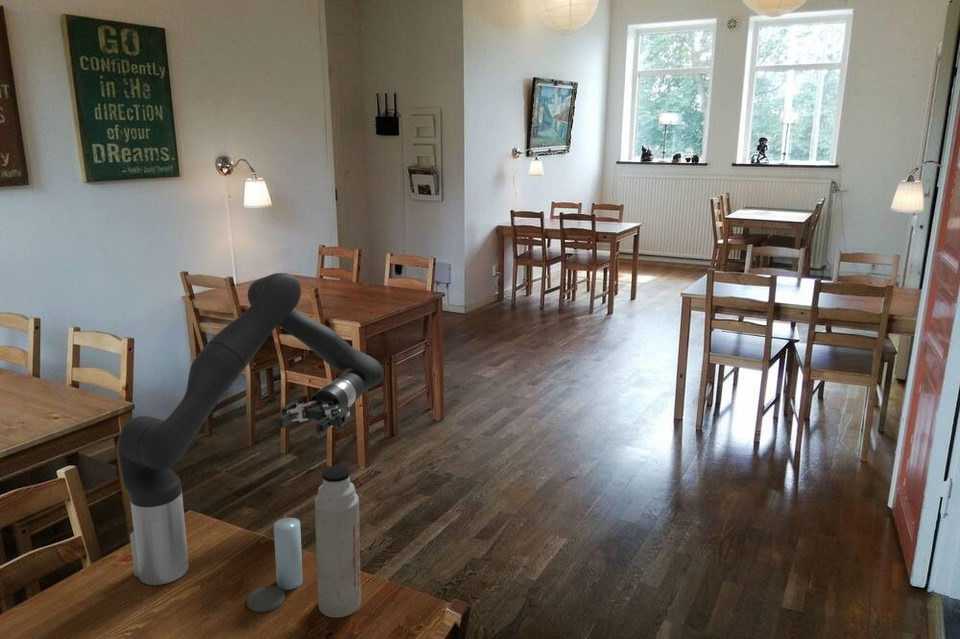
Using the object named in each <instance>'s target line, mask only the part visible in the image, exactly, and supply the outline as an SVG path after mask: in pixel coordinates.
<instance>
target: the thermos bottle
mask: <svg viewBox="0 0 960 639" xmlns="http://www.w3.org/2000/svg"><path fill="white" fill-rule="evenodd" d="M321 477H322V484H321V485H320V486H319V487H318V489H317V493H316V494H317V496H316V498H315V500H314V517H315V518H314V521H315V546H316V564H317V565H316V566H317V602H318V603H317V604H318V605H317V606H318V609H319V612H321V613H322V615H324V616H326V617H329V618H334V619H335V618H336V619H337V618H342V617H343V618H344V617H347V616H350V615H352V614H353V613H355V612H356V611H357V610H358V609H359V608H360V606H361V601H362V599H361V598H362V597H361V592H362V591H361V551H360V550H361V546H360V545H361V544H360V542H361V541H360V498H359V495H358V494H357V493H356V492H357V491H356V488H355V485H354V483H352V482H351V477H350V470H349V468H348V467H345V466H342V465H341V466H339V465H338V466H336V465H335V466H330V467H327V468H325V469H323V471H322V473H321Z"/></svg>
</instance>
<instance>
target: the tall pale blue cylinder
mask: <svg viewBox="0 0 960 639" xmlns="http://www.w3.org/2000/svg"><path fill="white" fill-rule="evenodd" d="M273 536H274V539H273V540H274V556H275V572H276V574H275V575H276V577H275V578H276V585H277V586H276V587H279V588H281V589H282V590H283V591H289V590H290V591H291V590H295V589H296V588H298V587H300V586H301V585H302V583H303V581H304V580H303V579H304V578H303V559H302V558H303V557H302V535H301V521H300V520H299V519H298V518H296V517H283V518H281V519H278V520H276V522H274V524H273Z"/></svg>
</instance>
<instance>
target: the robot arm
mask: <svg viewBox="0 0 960 639" xmlns="http://www.w3.org/2000/svg"><path fill="white" fill-rule="evenodd" d="M301 287H302V286H301V284H300V282H299V281H298V279H297V278H296V277H295V276H294V275H292V274H291V273H286V272H276V273H272V274H270V275H269V274H268V275H266V276H263V277H261V278H259V279H256V280H254V281H253V282H252V283H251V284H250V285H249V287H248V289H247V290H248V291H247V301H248V304H249V307H248V308H247V309H246V311H245V312H243V313H242V314H241V315H240V316H238V317H237V318H236V319H234V320H233V321H232V322H230V323H229V324H227V326H225V327H224V328H223V329H221V330H220V331H219V332H218V333H216V335H214V336H213V337H212V338H211V339H210V340H209V341H208V342H207V343H206V344H205V346H204V347H203V348H202V350H201V351H200V352H199V353H198V354H197V355H196V357H195V358H194V360H193V361H192V363H191V365H190V368H189V373H188V378H187V386H186V390H185V394H184V396H183V398H182V400H181V401H180V403H179V404H178V405H177V406H176V408H175V409H174V410H173V412H172V413H171V414H170V415H169V416H168V417H167V418H166V419H165V420H163V419H160V418H157V417H153V416H148V415H139V416H136V417H134V418H131V419H130V420H129V421H127V422H126V423H125V425H124V426H123V427H122V429H121V431H120V434H119V437H118V443H117V444H118V445H117V448H118V458H119V463H120V471H121V476H122V480H123V481H122V482H123V485H124V487H125V489H126V491H127V492H128V494H129V499H130V508H131V516H132V518H131V519H132V525H133V527H132V528H133V531H132V532H131V533H130V535H129V538H130V547H131V556H132V563H133V573H134V577H136V578H138V579H139V581H141V583H143V584H145V585H149V586H159V585H160V586H161V585H165V584H169V583H172V582H174V581H177V580H178V579H180V578H182V577H183V576H184V575H185V574H186V573H187V572H188V570H189V566H190V565H189V557H188V556H189V555H188V547H187V546H188V545H187V535H186V522H185V513H184V512H185V511H184V500H183V489H182V481H181V479H180V477H179V476H178V475H177V474H176V473H175V472H174V471H173V470H172V469H171V468H172V467H173V466H174V465H176V463H178V462H179V460H181V458H182V457H183V456H184V454H185V453H186V452H187V450H188V449H189V447H190V445H191V444H192V442H193V441H194V439H195V437H196V436H197V434H198V433H199V431H200V429H201V427H202V426H203V425H204V423H205V421H206V420H207V418H208V417H209V416H210V414H211V413H212V411H213V410H214V409H215V407H216V406H217V405H218V403H219V402H220V400H221V399H222V398H223V396H224V395H225V394H226V392H227V391H228V390H229V389H230V388H231V387H232V386H233V384H234V383H235V382H236V381H237V379H238V378H239V376H240V375H241V374H242V372H244V370H245V369H246V367H247V366H248V365H249V363H250V362H251V360H252V359H253V358H254V357H255V355H256V354H257V352H258V351H259V349H260V348H261V347H262V345H263V344H264V343H265V342H266V340H267V339H268V337H269V336H270V335H271V333H273V331H274V330H275V329H276V328H277V327H279V328H281V329H282V330H284V331H285V332H287V333H289V335H291V336H293V337H294V338H296V339H297V340H298V341H299V342H301V343H302V344H303V345H305V346H306V347H308V348H309V349H310V350H311V351H312V352H314V354H316V355H317V356H318V357H320V359H322V360H323V362H325V363H327V365H329V366H330V367H331V368H332V369H333V370H335V371H343V370H345V371H344V372H342V373H341V374H340V375H339V376H338V377H337V378H336V379H335V380H332V381H330V382H329V383H327V384H326V385H324V386H323V387H322V388H320V389H319V390H317V391H316V392H315V393H314V394H313V395H312V396H311V398H310V400H309V401H308V402H306V403H303V404H302V403H299V400H297V399H295V400H293V401H291V402H289V403H288V404H286V405H284V406H283V407H281V408H280V413H281V414H280V416H281V417H280V418H279V419H278V425H279V428H280V429H286V428H287V427H288V426H290V425H291V424H292V423H293V422H297V421H298V422H300V423H301V422H305V421H309V420H311V421H319V422H317V423H316V428H315V429H316V434H322V433H323V432H326V431H327V430H328V429H329V428H333V427H334V426H335V427H336V428H342V427H343V426H344V425H345V424H346V422H348V421H349V420H350V418H351V412H350V411H351V410H350V407H352V405H353V404H354V403H355V402H356V401H357V400H359V398H361V396H362V395H363V393H365V392H366V391H368V390H369V389H372V388H373V387H375V386H377V385H378V384H380V383H381V382H382V381H383V380H384V376H385V373H384V369H383V366H382V365H381V364H380V362H379V361H378V360H376V359H375V358H374V357H372V356H370V355H368V354H367V353H364V352H363V351H360V350H359V349H357V348H354V347H353V346H352V345H350V344H349V342H347V341H346V340H345V339H344V338H343V337H342V336H340V334H338V333H337V332H336V331H335V330H333V329H331V328H330V327H329V326H327V325H325V324H323V323H321V322H319V321H317V320H315V319H313V318H311V317H309V316H308V315H306V314H304V313H303V312H302V311H300V310H299V309H298V308H296V307H297V306H298V304H299V302H300V301H301V300H300V299H301V296H302V289H301ZM295 414H296V416H294V415H295ZM303 415H304V416H303Z"/></svg>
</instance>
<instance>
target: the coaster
mask: <svg viewBox="0 0 960 639" xmlns="http://www.w3.org/2000/svg"><path fill="white" fill-rule="evenodd" d="M285 594H286V593H285V590H283V589H281V588H279V587H278V586H275V585H266V586H261V587H258V588H256V589H254V590H252V591H251V593H249V595H248V596H247V598H246V607H247V608H248V609H249V610H251V611H253V612H256V613H268V612H271V611H273V610H276V609H278V608H279V607H280V606H282V605H283V603H284V602H285V600H286V599H285V598H286V595H285Z"/></svg>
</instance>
